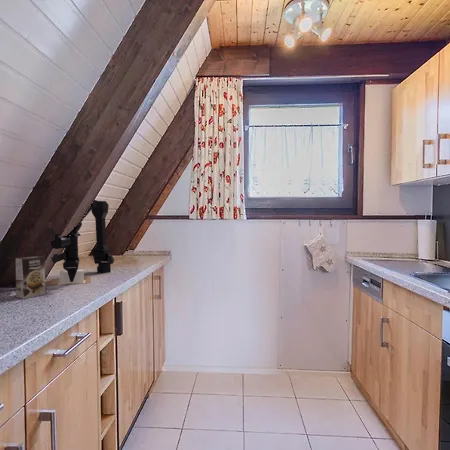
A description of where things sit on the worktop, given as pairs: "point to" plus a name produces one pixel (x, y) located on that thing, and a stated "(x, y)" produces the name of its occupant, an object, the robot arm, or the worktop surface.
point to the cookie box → (30, 276)
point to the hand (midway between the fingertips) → (72, 279)
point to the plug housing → (77, 279)
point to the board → (57, 282)
